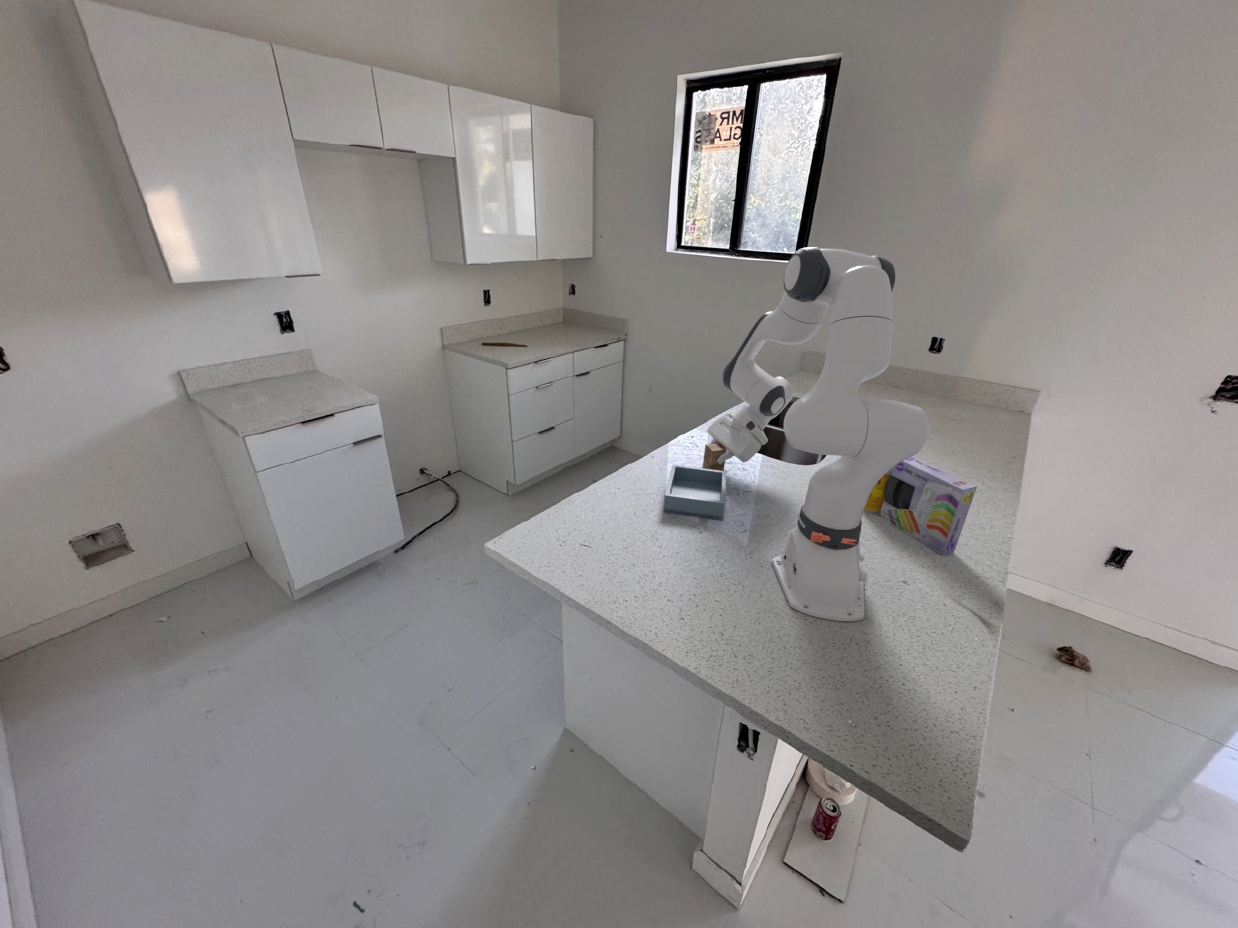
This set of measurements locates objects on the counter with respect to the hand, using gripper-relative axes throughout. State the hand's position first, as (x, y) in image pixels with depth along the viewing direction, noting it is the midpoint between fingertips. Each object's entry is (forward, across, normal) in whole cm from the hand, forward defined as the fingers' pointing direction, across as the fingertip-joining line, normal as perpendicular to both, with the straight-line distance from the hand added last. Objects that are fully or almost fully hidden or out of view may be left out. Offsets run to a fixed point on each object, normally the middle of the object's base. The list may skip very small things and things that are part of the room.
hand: (712, 457), depth 147 cm
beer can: (-19, +30, +26) cm, 44 cm away
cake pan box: (-20, +42, +28) cm, 54 cm away
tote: (+12, +14, -5) cm, 19 cm away
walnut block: (+3, 0, +4) cm, 5 cm away
